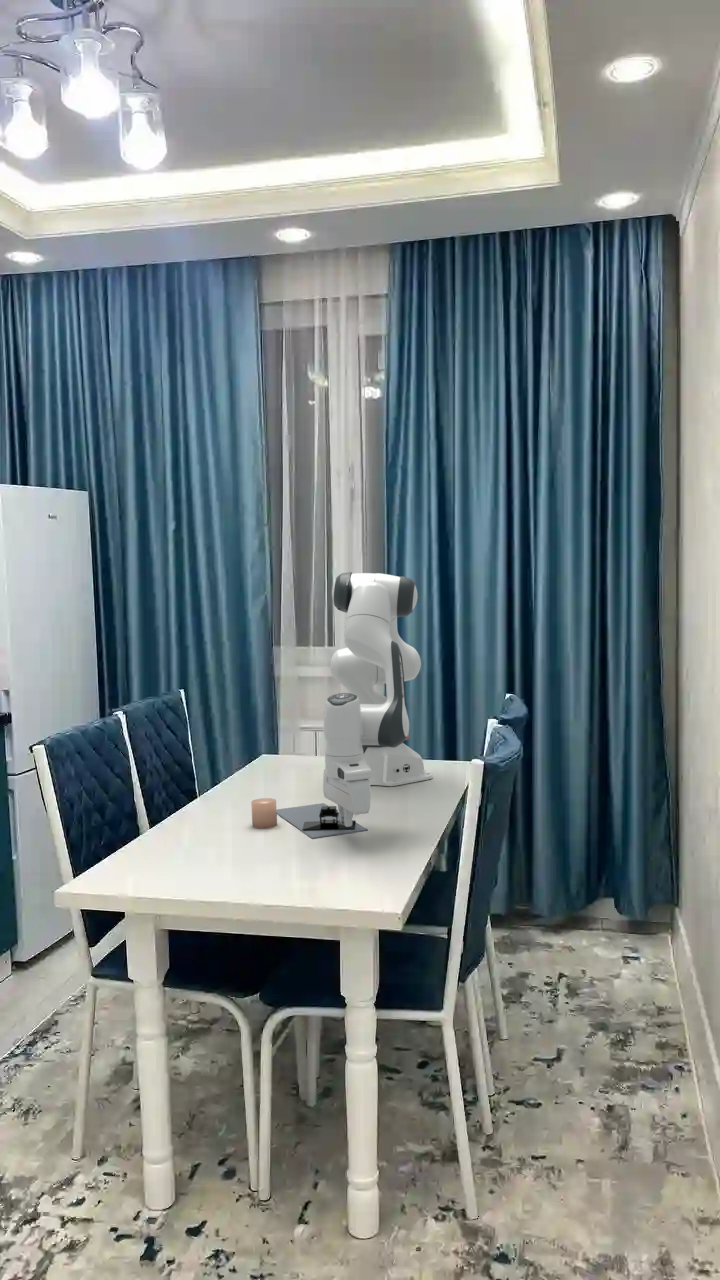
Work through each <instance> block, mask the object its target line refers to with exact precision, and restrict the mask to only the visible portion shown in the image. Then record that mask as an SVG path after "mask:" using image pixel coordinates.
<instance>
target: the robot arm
mask: <svg viewBox="0 0 720 1280" xmlns="http://www.w3.org/2000/svg"><path fill="white" fill-rule="evenodd" d="M418 596H419V595H418V590H417V587H416V583H415V581H414V580H413V579H412V578H411V577H407V576H404V575H401V576H397V575H393V574H388V573H387V574H386V573H378V572H375V573H374V572H373V573H370V572H359V573H358V572H356V573H355V572H354V573H353V572H351V571H349V572H342V573H340V574H339V575H337V577H336V578H335V581H334V583H333V585H332V587H331V597H332V601H333V605H334V607H335V608H336V609H337V610H338V611H340V612H343V613H345V614H346V617H345V623H344V633H343V635H344V636H343V637H344V642H345V644H346V647H343V648H339V649H337V650H335V652H334V653H333V655H332V657H331V659H330V665H329V667H330V672H331V674H332V677H333V678H334V680H335V681H336V682H338V683H339V684H340V685H341V686H343V687H344V688H345V689H346V690H347V691H348V692H340V693H335V694H332V695H330V696H328V698H327V699H326V701H325V703H324V704H325V705H324V714H323V736H324V739H325V749H324V770H323V776H322V777H323V779H322V791H323V792H322V793H323V796H324V798H326V799H327V800H329V801H331V802H332V803H334V804H336V805H337V810H338V812H339V814H340V821H341V824H343V825H345V826H346V827H348V826H352V820H353V818H354V815H356V816H357V815H364V814H369V812H370V810H371V803H372V802H371V801H372V799H371V798H372V796H371V793H372V792H371V789H372V788H371V786H383V787H395V786H401V785H406V784H412V783H417V782H421V781H422V782H423V781H428V780H432V779H433V773H432V772H430V771H428V770H427V769H425V766H424V765H425V764H424V760H423V758H422V755H420V754H419V753H418V752H417V751H415V750H413V749H412V748H411V747H409V746H408V745H406V744H405V743H404V741H407V740H409V739H410V734H409V732H410V720H409V716H408V709H407V699H406V698H407V697H406V688H405V687H406V686H405V685H406V684H405V682H407V681H412V680H415V679H416V678H417V676H418V675H419V672H420V670H421V667H422V661H421V656H420V654H419V652H418V651H417V650H416V648H415V647H413V646H411V645H410V644H408V643H406V642H405V641H404V640H403V639H402V637H401V636H400V634H399V631H398V618H402V617H408V616H409V615H411V614H412V613H413V611H414V609H415V607H416V605H417V604H418V602H417V601H418ZM376 684H378V685H379V684H381V685H382V684H385V685H386V686H385V688H386V696H385V695H383V694H381V693H378V692H377V691H375V688H374V685H376Z"/></svg>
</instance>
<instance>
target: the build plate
mask: <svg viewBox="0 0 720 1280" xmlns="http://www.w3.org/2000/svg"><path fill="white" fill-rule="evenodd" d="M338 814H339V811H338V805H328V806H322V807H321V810H320V815H319V817H320V821H311V822H304V826H303V829H302V831H317V830H354V829H355V823H357V821H356V820H353V819H352V826H348V827H346V826H345V825H343V824H341V821H338ZM327 816H332V817H336V820H335V819H333V820H326V819H324V820H322V817H327ZM302 831H301V832H302Z"/></svg>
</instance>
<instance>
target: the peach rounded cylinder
mask: <svg viewBox="0 0 720 1280" xmlns="http://www.w3.org/2000/svg"><path fill="white" fill-rule="evenodd" d="M250 805H251V822H252V824H251V825H252V826H251V827H253V828H254V829H260V830H262V829H263V830H264V829H271V828H275V827H277V826H278V817H277V816H278V814H277V800H276V799H275V798H270V797H269V798H268V797H264V798H263V797H262V798H257V799H256V798H255V799H253V800H251V804H250Z"/></svg>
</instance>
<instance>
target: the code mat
mask: <svg viewBox="0 0 720 1280" xmlns="http://www.w3.org/2000/svg"><path fill="white" fill-rule="evenodd" d="M322 806H329V804H326V803H324V802H322V803H314V804H307V805H300V806H293V807H286V808H285V807H284V808H278V809H277V808H276V809H277V816H279V817H280V818H282V819H283V820H285V821H286V822H288V823H289V824H290V825H292V826H293V827H295V828H297V830H299V831H300V832H302V833H303V834H305V835H306V836H307V837H309V838H310V839H312V840H314V839H321V838H328V837H334V836H339V835H340V836H341V835H347V834H354V833H361V832H367V831H368V828H367V827H365V826H363V825H361V824H360V823H358V822H356V823H355V829H354V830H317V831H302V829H303V826H304V822H311V821H320V817H319V815H320V810H321V807H322ZM324 819H326V820H333V819H335V820H336V817H332V816H327V817H322V820H324ZM338 821H340V814H338Z"/></svg>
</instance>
